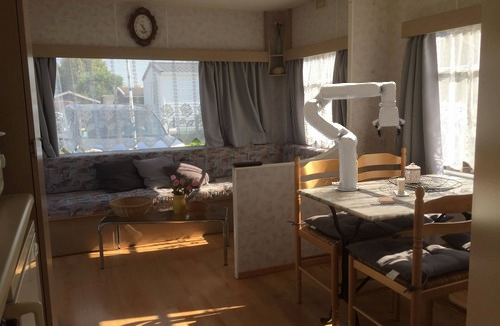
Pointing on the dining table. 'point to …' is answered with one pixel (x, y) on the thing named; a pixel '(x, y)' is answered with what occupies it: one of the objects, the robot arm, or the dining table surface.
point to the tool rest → (401, 196)
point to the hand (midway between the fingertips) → (388, 136)
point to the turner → (401, 188)
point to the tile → (386, 200)
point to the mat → (387, 204)
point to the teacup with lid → (412, 174)
